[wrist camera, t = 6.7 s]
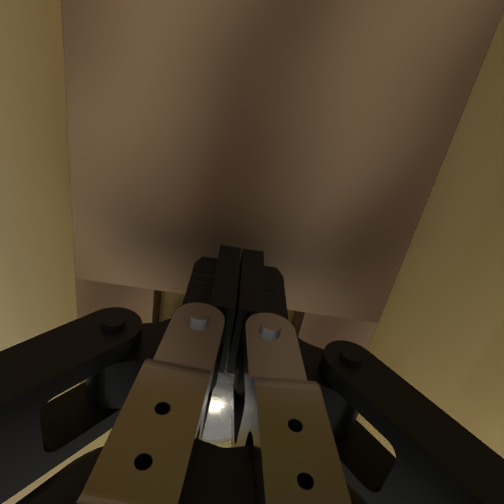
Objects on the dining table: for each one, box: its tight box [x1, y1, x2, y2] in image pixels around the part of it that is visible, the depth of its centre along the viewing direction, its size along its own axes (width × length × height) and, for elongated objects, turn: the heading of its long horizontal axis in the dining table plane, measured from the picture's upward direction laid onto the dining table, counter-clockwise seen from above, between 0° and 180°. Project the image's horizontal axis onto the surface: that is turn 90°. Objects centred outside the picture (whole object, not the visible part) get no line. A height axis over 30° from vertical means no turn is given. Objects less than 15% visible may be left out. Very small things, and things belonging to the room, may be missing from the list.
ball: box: [202, 350, 234, 443], centre depth 16 cm, size 5×5×5 cm
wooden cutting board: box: [61, 0, 504, 384], centre depth 15 cm, size 12×20×2 cm, turn 170°
